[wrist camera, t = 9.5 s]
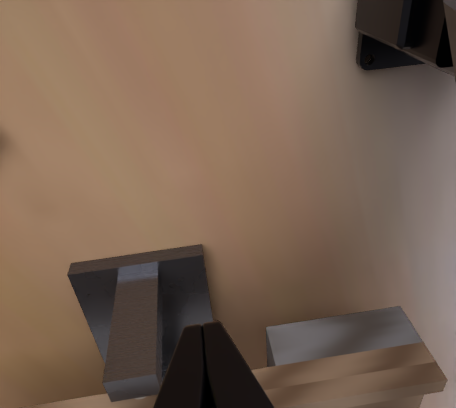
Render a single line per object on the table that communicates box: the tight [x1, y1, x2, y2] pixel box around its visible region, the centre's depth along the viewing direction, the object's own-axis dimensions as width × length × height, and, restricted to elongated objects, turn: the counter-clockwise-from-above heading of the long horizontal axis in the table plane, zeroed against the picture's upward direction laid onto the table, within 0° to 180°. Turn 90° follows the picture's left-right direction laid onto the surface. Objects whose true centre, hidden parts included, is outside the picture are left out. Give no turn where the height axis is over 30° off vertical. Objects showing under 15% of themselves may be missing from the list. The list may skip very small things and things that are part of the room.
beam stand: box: [68, 244, 213, 402], centre depth 25 cm, size 8×14×8 cm, turn 5°
